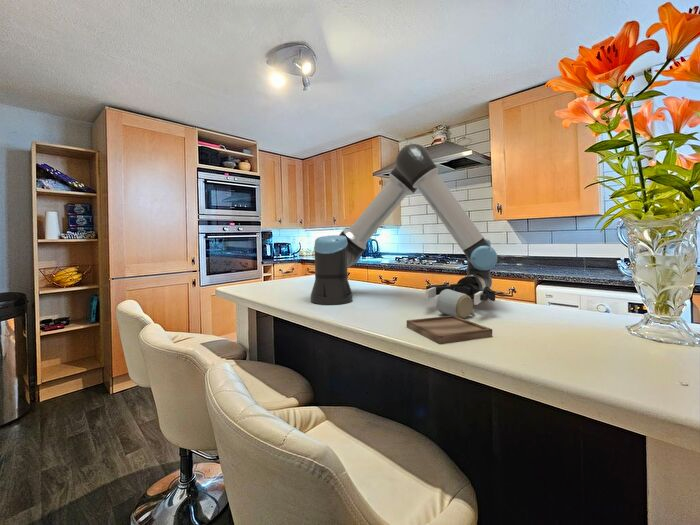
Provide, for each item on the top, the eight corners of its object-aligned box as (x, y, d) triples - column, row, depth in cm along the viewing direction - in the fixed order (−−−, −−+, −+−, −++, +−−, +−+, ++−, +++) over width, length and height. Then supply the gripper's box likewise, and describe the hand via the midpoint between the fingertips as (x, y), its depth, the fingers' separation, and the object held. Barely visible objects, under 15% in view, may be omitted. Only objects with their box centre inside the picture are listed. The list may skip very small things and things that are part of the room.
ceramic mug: (457, 321, 86) (458, 293, 86) (435, 315, 93) (436, 289, 92) (481, 316, 91) (482, 291, 91) (459, 311, 98) (460, 287, 98)
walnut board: (406, 326, 81) (406, 320, 81) (452, 321, 85) (452, 315, 85) (439, 344, 68) (439, 336, 67) (492, 336, 72) (492, 329, 72)
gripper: (512, 302, 99) (498, 316, 81) (434, 294, 113) (408, 305, 96) (512, 278, 98) (499, 287, 81) (434, 273, 113) (408, 280, 95)
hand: (449, 297), depth 88 cm, fingers open, 13 cm apart
